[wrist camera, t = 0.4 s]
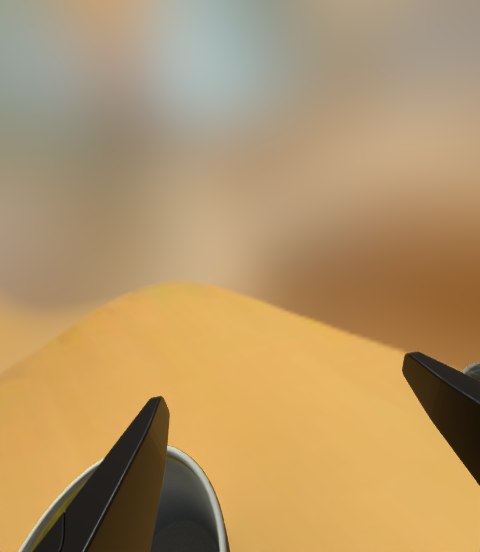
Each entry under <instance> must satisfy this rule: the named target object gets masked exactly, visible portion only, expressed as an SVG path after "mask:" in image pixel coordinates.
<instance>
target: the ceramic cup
mask: <svg viewBox="0 0 480 552" xmlns="http://www.w3.org/2000/svg"><path fill="white" fill-rule="evenodd" d="M103 459H104V458H103ZM103 459H101V460H100V461H98V462H97V463H95V464H94V465H93V466H91V467H90V468H88V469H87V470H86V471H85V472H84V473H82V474H81V475H80V476H79V477H78V478H76V479H75V480H74V481H73V482H72V483H71V484H70V485H69V486H68V487H67V488H66V489H65V490H64V491H63V492H62V493H61V494H60V495H59V497H58V498H57V499H56V500H55V501H54V502H53V504H52V505H51V506H50V507H49V508H48V510H47V511H46V512H45V513H44V514H43V516H42V517H41V519H40V520H39V521H38V523H37V524H36V525H35V527H34V528H33V530H32V531H31V533H30V534H29V536H28V537H27V539H26V540H25V542H24V543H23V545H22V547H21V548H20V550H19V552H32V551H33V550H34V548H35V547H36V546H37V545H38V543H39V542H40V541H41V540H42V538H43V537H44V536H45V534H46V533H47V532H48V531H49V529H50V528H51V527H52V526H53V524H54V523H55V522H56V520H57V519H58V518H59V516H60V515H61V514H62V513H63V512H65V509H66V507H67V506H68V505H69V504H70V502H71V501H72V500H73V498H74V497H75V496H76V494H77V493H78V492H79V491H80V489H81V488H82V487H83V485H84V484H85V483H86V481H87V480H88V479H89V478H90V476H91V475H92V474H93V472H94V471H95V470H96V468H97V467H98V466H99V465H100V463H101V462H102V461H103ZM150 552H230V549H229V543H228V537H227V532H226V528H225V523H224V519H223V515H222V511H221V507H220V504H219V501H218V498H217V496H216V493H215V491H214V489H213V486H212V484H211V482H210V481H209V479H208V477H207V476H206V474H205V473H204V471H203V470H202V468H201V467H200V466H199V465H198V464H197V463H196V462H195V461H194V460H193V459H192V458H191V457H190V456H189V455H187V454H186V453H184V452H183V451H181V450H179V449H177V448H175V447H172V446H169V445H167V455H166V465H165V471H164V477H163V483H162V488H161V494H160V500H159V505H158V511H157V517H156V522H155V528H154V533H153V539H152V545H151V550H150Z"/></svg>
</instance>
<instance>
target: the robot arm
mask: <svg viewBox="0 0 480 552" xmlns="http://www.w3.org/2000/svg"><path fill="white" fill-rule="evenodd" d="M402 372H403V375H404V377H405V379H406V380H407V382H408V383H409V385H410V387H411V388H412V390H413V392H414V393H415V395H416V397H417V398H418V400H419V401H420V403H421V405H422V406H423V408H424V410H425V411H426V413H427V414H428V416H429V417H430V419H431V420H432V422H433V423H434V424H435V426H436V427H437V429H438V430H439V431H440V433H441V434H442V435H443V437H444V438H445V439H446V441H447V442H448V443H449V445H450V446H451V448H452V449H453V450H454V452H455V453H456V454H457V456H458V457H459V458H460V460H461V461H462V462H463V464H464V465H465V466H466V468H467V469H468V470H469V472H470V473H471V475H472V476H473V477H474V479H475V480H476V481H477V483H478V484H479V485H480V381H479V380H477V379H474V378H472V377H470V376H468V375H466V374H464V373H462V372H460V371H458V370H456V369H454V368H452V367H449V366H447V365H445V364H443V363H441V362H439V361H437V360H435V359H433V358H431V357H429V356H426V355H424V354H422V353H420V352H410V353H406V354H405V356H404V361H403V367H402ZM169 417H170V414H169V409H168V407H167V405H166V403H165V400H164V398H163V397H162V396H158V397H153V398H151V399H150V400H149V401H148V402H147V403H146V405H145V406H144V407H143V409H142V410H141V411H140V412H139V414H138V415H137V416H136V418H135V419H134V420H133V422H132V423H131V424H130V425H129V427H128V428H127V429H126V431H125V432H124V433H123V435H122V436H121V437H120V438H119V440H118V441H117V442H116V444H115V445H114V446H113V448H112V449H111V450H110V451H109V453H108V454H107V455H106V457H105V458H104V459H103V461H102V462H101V463H100V465H99V466H98V467H97V468H96V470H95V471H94V472H93V474H92V475H91V476H90V478H89V479H88V480H87V481H86V483H85V484H84V485H83V487H82V488H81V489H80V491H79V492H78V493H77V494H76V496H75V497H74V498H73V500H72V501H71V502H70V504H69V505H68V506H67V507H66V509H65V512H63V513H62V514H61V515H60V516H59V518H58V519H57V520H56V522H55V523H54V524H53V526H52V527H51V528H50V529H49V531H48V532H47V533H46V534H45V536H44V537H43V538H42V540H41V541H40V542H39V543H38V545H37V546H36V547H35V548H34V550H33V551H32V552H150V550H151V545H152V539H153V533H154V528H155V522H156V517H157V511H158V505H159V500H160V494H161V488H162V483H163V477H164V471H165V465H166V455H167V443H168V430H169Z"/></svg>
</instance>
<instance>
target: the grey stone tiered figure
mask: <svg viewBox="0 0 480 552" xmlns="http://www.w3.org/2000/svg"><path fill="white" fill-rule="evenodd" d="M462 373H464V374H466V375H468V376H470V377H472V378H474V379H477V380H479V381H480V362H477V363H472V364H470V365H469V366H467V367H465V369H464V371H463V372H462Z"/></svg>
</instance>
